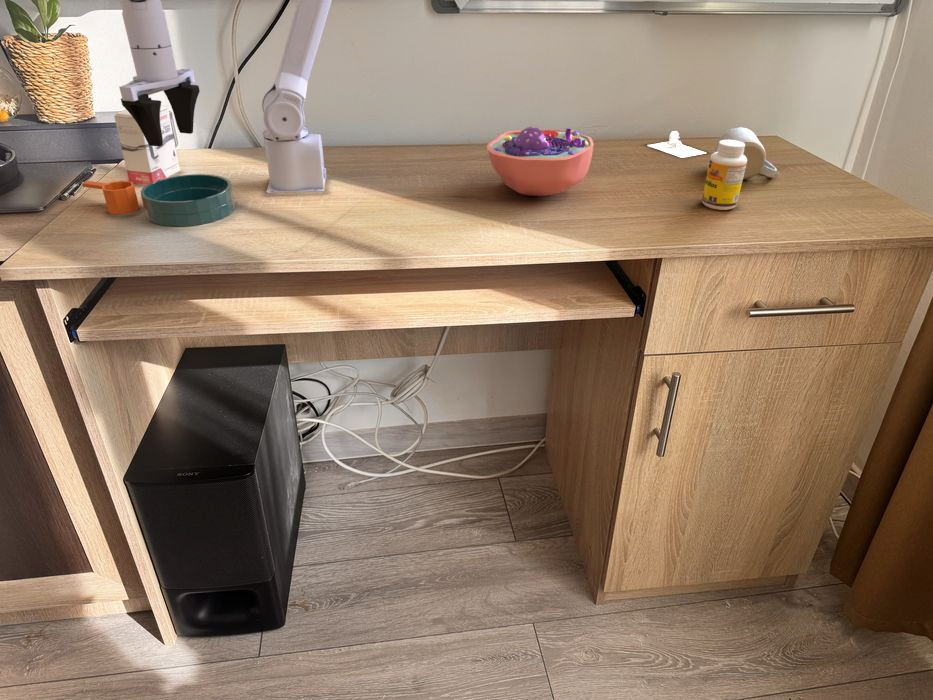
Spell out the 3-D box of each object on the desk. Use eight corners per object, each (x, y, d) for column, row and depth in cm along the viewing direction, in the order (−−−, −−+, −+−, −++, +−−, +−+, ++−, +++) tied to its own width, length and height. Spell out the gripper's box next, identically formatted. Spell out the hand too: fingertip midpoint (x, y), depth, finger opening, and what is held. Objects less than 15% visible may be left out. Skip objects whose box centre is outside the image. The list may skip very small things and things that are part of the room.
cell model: (612, 188, 119) (621, 122, 113) (542, 218, 106) (547, 145, 100) (536, 167, 128) (540, 105, 122) (463, 192, 116) (464, 124, 110)
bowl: (241, 197, 112) (236, 173, 110) (228, 227, 101) (223, 200, 99) (158, 200, 111) (152, 175, 109) (137, 231, 100) (130, 204, 98)
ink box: (155, 187, 116) (138, 116, 110) (128, 185, 117) (110, 114, 110) (183, 172, 123) (168, 104, 117) (157, 170, 124) (142, 102, 118)
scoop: (146, 208, 108) (139, 182, 105) (126, 218, 104) (119, 191, 102) (102, 202, 110) (95, 177, 108) (81, 211, 106) (73, 185, 104)
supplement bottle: (695, 199, 114) (708, 138, 109) (728, 199, 115) (741, 137, 109) (708, 211, 110) (721, 148, 104) (741, 211, 110) (756, 147, 105)
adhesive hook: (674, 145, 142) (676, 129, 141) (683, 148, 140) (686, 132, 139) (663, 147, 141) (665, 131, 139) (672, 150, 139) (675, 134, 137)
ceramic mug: (721, 180, 123) (731, 137, 119) (710, 166, 130) (719, 125, 125) (781, 183, 122) (793, 140, 118) (766, 169, 129) (778, 128, 125)
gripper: (160, 37, 107) (178, 125, 115) (92, 52, 96) (118, 149, 103) (198, 40, 106) (215, 129, 113) (134, 55, 94) (157, 153, 101)
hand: (171, 139), depth 108 cm, fingers open, 7 cm apart
